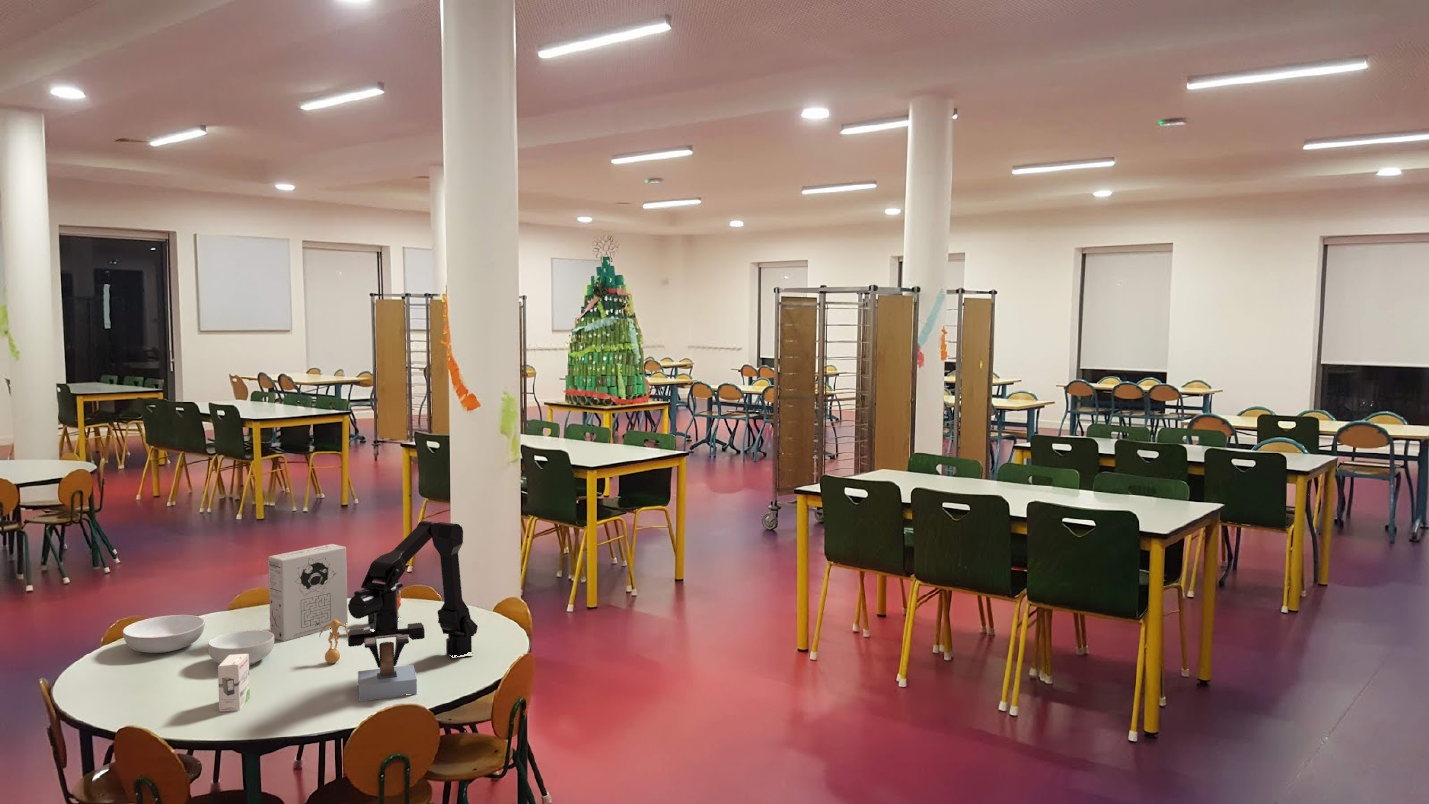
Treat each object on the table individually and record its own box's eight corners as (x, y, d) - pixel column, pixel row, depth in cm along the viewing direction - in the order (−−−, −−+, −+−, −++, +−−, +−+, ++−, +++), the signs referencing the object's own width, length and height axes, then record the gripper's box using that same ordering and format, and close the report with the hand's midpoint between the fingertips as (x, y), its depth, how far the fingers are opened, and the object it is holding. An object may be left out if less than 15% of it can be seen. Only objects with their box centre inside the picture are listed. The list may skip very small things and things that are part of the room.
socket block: (413, 679, 256) (413, 664, 256) (416, 694, 246) (416, 679, 246) (358, 686, 251) (357, 671, 251) (359, 701, 241) (358, 686, 241)
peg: (394, 670, 251) (393, 641, 250) (394, 675, 247) (394, 645, 247) (379, 672, 249) (379, 642, 249) (380, 677, 246) (379, 647, 245)
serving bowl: (131, 666, 264) (130, 642, 264) (117, 646, 280) (116, 623, 279) (213, 649, 278) (213, 626, 277) (195, 632, 294) (195, 610, 293)
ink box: (230, 698, 242) (228, 653, 241) (250, 697, 243) (249, 652, 242) (218, 712, 234) (217, 665, 233) (240, 711, 235) (238, 664, 234)
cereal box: (334, 619, 307) (332, 543, 305) (348, 624, 303) (346, 546, 301) (269, 637, 290) (267, 556, 288) (283, 642, 285) (281, 560, 283)
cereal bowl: (284, 662, 268) (284, 638, 267) (222, 678, 256) (221, 652, 255) (260, 648, 279) (259, 625, 279) (199, 662, 267) (198, 638, 267)
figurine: (314, 665, 266) (313, 623, 265) (323, 657, 272) (322, 616, 271) (344, 665, 266) (343, 623, 265) (352, 658, 272) (351, 617, 271)
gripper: (420, 596, 258) (421, 652, 259) (347, 602, 251) (348, 660, 252) (424, 607, 248) (425, 666, 249) (347, 615, 241) (348, 675, 242)
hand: (387, 666), depth 248 cm, fingers closed on peg, 4 cm apart
